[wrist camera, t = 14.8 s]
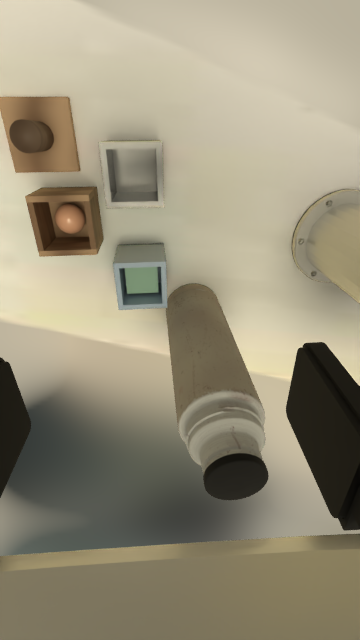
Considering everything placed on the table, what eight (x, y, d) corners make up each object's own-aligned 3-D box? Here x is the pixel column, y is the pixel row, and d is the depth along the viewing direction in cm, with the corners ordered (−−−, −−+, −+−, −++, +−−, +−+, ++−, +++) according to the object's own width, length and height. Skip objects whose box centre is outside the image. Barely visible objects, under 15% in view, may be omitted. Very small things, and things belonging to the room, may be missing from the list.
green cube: (156, 252, 42) (157, 262, 39) (157, 280, 44) (158, 292, 41) (126, 253, 42) (124, 264, 39) (128, 281, 44) (127, 293, 41)
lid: (69, 98, 34) (55, 91, 29) (80, 170, 37) (69, 176, 32) (1, 98, 33) (-26, 91, 28) (19, 171, 37) (-3, 177, 32)
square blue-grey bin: (163, 243, 42) (166, 261, 36) (164, 284, 45) (167, 307, 39) (118, 244, 42) (113, 263, 36) (122, 286, 45) (118, 310, 39)
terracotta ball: (85, 200, 38) (79, 206, 35) (89, 229, 40) (84, 236, 37) (56, 201, 38) (48, 207, 35) (61, 230, 40) (54, 237, 37)
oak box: (96, 186, 38) (88, 195, 33) (103, 239, 41) (97, 254, 36) (41, 187, 38) (25, 196, 33) (53, 240, 41) (39, 256, 36)
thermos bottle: (208, 334, 50) (264, 517, 26) (160, 325, 49) (172, 511, 25) (225, 289, 47) (308, 456, 23) (173, 278, 45) (203, 444, 21)
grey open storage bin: (159, 140, 36) (162, 141, 30) (161, 195, 39) (164, 206, 33) (106, 140, 36) (98, 142, 30) (112, 196, 39) (106, 208, 33)
